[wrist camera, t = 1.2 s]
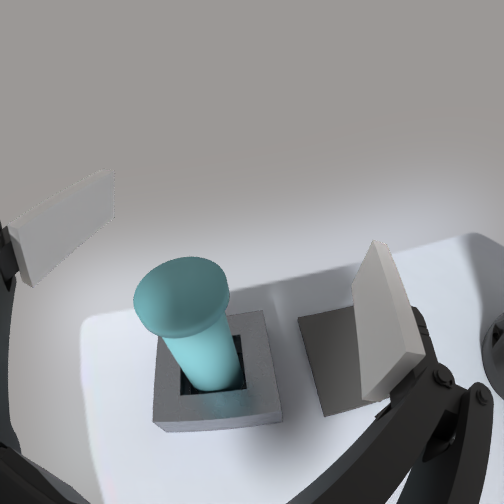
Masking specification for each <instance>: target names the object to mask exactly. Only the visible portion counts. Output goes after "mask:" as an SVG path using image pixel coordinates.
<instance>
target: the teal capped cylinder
mask: <svg viewBox="0 0 504 504" xmlns="http://www.w3.org/2000/svg"><path fill="white" fill-rule="evenodd" d="M133 301H134V309H135V311H136V313H137V315H138V317H139V318H140V320H141V322H142V323H143V325H144V326H145V327H146V328H147V329H148V330H149V331H150V332H152V333H153V334H155V335H157V336H160V337H162V338H163V340H164V341H165V343H166V345H167V346H168V348H169V350H170V351H171V353H172V354H173V356H174V358H175V359H176V361H177V362H178V364H179V365H180V367H181V368H182V370H183V372H184V373H185V375H186V376H187V378H188V379H189V381H190V382H191V383H192V385H193V386H194V388H195V389H196V391H197V392H198V393H199V394H208V393H218V392H227V391H235V390H241V388H242V386H243V383H244V376H243V372H242V369H241V365H240V362H239V359H238V355H237V352H236V349H235V345H234V342H233V339H232V335H231V332H230V328H229V325H228V322H227V318H226V315H225V310H226V308H227V305H228V302H229V288H228V284H227V279H226V276H225V273H224V272H223V270H222V269H221V268H220V266H218V265H217V264H216V263H214V262H212V261H210V260H208V259H205V258H200V257H183V258H177V259H174V260H170V261H167V262H165V263H163V264H161V265H159V266H158V267H156V268H154V269H153V270H151V271H150V272H149V273H148V274H147V275H146V276H145V277H144V278H143V279H142V280H141V281H140V283H139V285H138V286H137V288H136V291H135V294H134V299H133Z"/></svg>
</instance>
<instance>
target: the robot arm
mask: <svg viewBox="0 0 504 504" xmlns="http://www.w3.org/2000/svg"><path fill="white" fill-rule="evenodd" d="M113 218H115V217H114V171H113V170H108V169H102V170H100V171H98V172H96V173H94V174H92V175H90V176H88V177H86V178H84V179H82V180H80V181H78V182H76V183H75V184H73V185H71V186H69V187H67V188H65V189H64V190H62V191H60V192H58V193H57V194H55V195H53V196H51V197H50V198H48V199H46V200H45V201H43V202H41V203H40V204H38V205H36V206H35V207H33V208H32V209H30V210H28V211H27V212H25V213H24V214H22V215H21V216H19V217H18V218H16V219H15V220H13V221H12V222H10V223H9V224H8V225H7V226H6V227H5V228H3V229H2V226H1V222H0V504H90V503H89V502H88V501H87V500H86V499H84V498H83V497H82V496H81V495H80V494H79V493H78V492H77V491H76V490H74V489H73V488H72V487H71V486H70V485H68V484H66V483H65V482H63V481H62V480H60V479H59V478H57V477H56V476H54V475H53V474H51V473H50V472H48V471H47V470H45V469H44V468H42V467H40V466H39V465H37V464H35V463H34V462H32V461H30V460H29V459H27V458H26V457H24V456H23V455H22V454H21V448H20V444H19V441H18V438H17V436H16V434H15V432H14V430H13V428H12V426H11V422H10V415H9V400H8V350H9V335H10V324H11V315H12V307H13V300H14V293H15V287H16V277H15V274H16V273H17V272H18V271H20V274H21V278H22V281H23V282H24V283H26V284H27V285H29V286H31V287H32V288H34V287H35V286H36V285H37V284H38V283H39V282H40V281H41V280H42V279H43V278H44V277H45V276H46V275H47V274H48V273H49V272H51V271H52V270H53V269H54V268H55V267H56V266H57V265H58V264H59V263H61V262H62V261H63V260H64V259H65V258H66V257H67V256H69V255H70V254H71V253H72V252H73V251H74V250H75V249H77V247H79V246H80V245H81V244H83V243H84V242H85V241H86V240H87V239H89V238H90V237H91V236H92V235H93V234H94V233H96V232H97V231H98V230H99V229H101V228H102V227H103V226H105V225H106V224H107V223H108V222H110V221H111V220H112V219H113ZM351 289H352V296H353V304H354V312H355V320H356V329H357V338H358V348H359V360H360V373H361V389H362V400H367V401H375V402H381V401H382V400H383V399H384V398H385V397H386V396H387V395H388V394H389V393H390V401H391V403H389V404H388V405H387V406H386V407H385V408H384V409H383V410H382V411H380V412H379V413H378V414H377V415H376V416H375V418H376V419H375V420H374V421H373V423H372V424H371V425H370V426H369V427H368V428H367V429H366V431H365V432H364V433H363V434H362V435H361V436H360V437H359V438H358V439H357V440H356V441H355V442H354V443H353V445H352V446H351V447H350V448H349V449H348V450H347V451H346V452H345V453H344V454H343V455H342V456H341V457H340V458H339V459H338V460H337V461H336V462H334V463H333V464H332V465H331V466H330V467H329V468H328V469H327V470H326V471H325V472H324V473H323V474H322V475H320V476H319V477H318V478H317V479H316V480H315V481H314V482H312V483H311V484H310V485H309V486H308V487H306V488H305V489H304V490H303V491H302V492H300V493H299V494H298V495H297V496H295V497H294V498H293V499H292V500H290V501H289V502H288V503H286V504H385V503H386V502H387V500H388V499H389V498H390V497H391V495H392V494H393V493H394V491H395V490H396V489H397V487H398V486H399V485H400V483H401V482H402V481H403V479H404V478H405V476H406V475H407V473H408V472H409V471H410V469H411V471H410V473H409V476H408V478H407V481H406V483H405V486H404V488H403V490H402V492H401V495H400V497H399V499H398V501H397V503H396V504H479V501H480V497H481V493H482V489H483V485H484V480H485V475H486V470H487V464H488V458H489V452H490V444H491V435H492V424H493V408H494V402H493V397H492V394H491V391H490V390H489V388H488V387H486V386H485V385H484V384H482V383H480V382H476V383H474V384H473V385H472V386H471V387H470V388H469V389H468V390H467V389H465V388H462V387H460V386H458V385H456V384H455V380H454V377H453V375H452V373H451V371H450V370H449V369H448V368H447V367H446V366H444V365H443V364H441V363H438V361H437V357H436V354H435V351H434V347H433V344H432V341H431V338H430V337H429V332H428V329H426V328H427V326H426V323H425V320H424V317H423V316H422V314H421V313H420V312H419V310H418V309H417V308H416V307H413V306H411V305H410V302H409V300H408V297H407V294H406V291H405V288H404V286H403V283H402V280H401V278H400V275H399V273H398V270H397V268H396V265H395V263H394V260H393V258H392V255H391V253H390V250H389V248H388V246H387V244H384V243H381V242H378V241H375V240H373V241H372V243H371V245H370V247H369V250H368V252H367V254H366V256H365V258H364V260H363V262H362V264H361V266H360V268H359V270H358V273H357V275H356V277H355V279H354V281H353V283H352V284H351ZM482 355H483V364H484V368H485V372H486V375H487V377H488V379H489V382H490V383H491V385H492V387H493V388H494V390H495V391H496V392H497V394H498V395H499V396H500V397H501V398H502V399H504V313H503V314H502V315H501V316H499V317H498V318H497V319H496V321H495V322H494V323H493V325H492V326H491V328H490V329H489V330H488V332H487V334H486V336H485V339H484V342H483V350H482ZM454 438H455V439H454Z"/></svg>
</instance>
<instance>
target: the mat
mask: <svg viewBox="0 0 504 504" xmlns="http://www.w3.org/2000/svg"><path fill="white" fill-rule="evenodd" d="M298 323H299V326H300V330H301V333H302V337H303V340H304V344H305V347H306V351H307V355H308V358H309V362H310V366H311V369H312V373H313V377H314V380H315V384H316V388H317V391H318V395H319V399H320V403H321V407H322V410H323V414H324V417H326V416H330V415H334V414H338V413H342V412H345V411H349V410H352V409H356V408H359V407H362V406H365V405H369V404H372V403H375V401H367V400H362V389H361V373H360V360H359V348H358V338H357V329H356V320H355V312H354V306H351V307H347V308H342V309H338V310H333V311H328V312H323V313H319V314H314V315H309V316H304V317H298ZM389 397H390V393H389V394H388V395H387V396H386V397H385V398H384V399H386V398H389ZM384 399H383V400H384Z"/></svg>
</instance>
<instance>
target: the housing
mask: <svg viewBox="0 0 504 504" xmlns="http://www.w3.org/2000/svg"><path fill="white" fill-rule="evenodd" d="M226 318H227V322H228V325H229V328H230V332H231V335H232V339H233V342H234V345H235V349H236V352H237V353H241V352H243V361H244V369H245V377H246V384H247V389H243V390H235V391H227V392H218V393H208V394H196V395H191V383H190V381H189V379H188V378H187V376H186V375H185V373H184V372H183V370H182V368H181V367H180V365H179V364H178V362H177V361H176V359H175V358H174V356H173V354H172V353H171V351H170V350H169V348H168V346H167V345H166V343H165V341H164V340H163V338H162V337H160V336H158V344H157V356H156V368H155V382H154V400H153V423H155V424H156V425H157V426H159V427H160V428H161V429H163V430H164V431H165V432H195V431H212V430H224V429H234V428H243V427H251V426H258V425H265V424H271V423H277V422H282V409H281V404H280V399H279V393H278V388H277V383H276V378H275V372H274V367H273V362H272V357H271V352H270V346H269V341H268V336H267V331H266V325H265V320H264V315H263V310H261V311H255V312H249V313H243V314H236V315H230V316H226Z"/></svg>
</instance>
